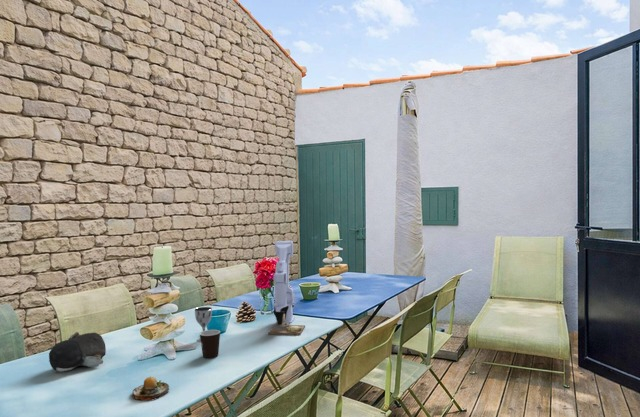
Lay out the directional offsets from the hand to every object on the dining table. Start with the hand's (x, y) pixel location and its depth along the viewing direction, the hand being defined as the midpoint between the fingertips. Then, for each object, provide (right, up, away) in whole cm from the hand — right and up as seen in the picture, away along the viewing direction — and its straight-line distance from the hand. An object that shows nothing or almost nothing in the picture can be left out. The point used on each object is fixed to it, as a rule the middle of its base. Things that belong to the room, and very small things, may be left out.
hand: (281, 322), depth 223 cm
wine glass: (-36, -5, -13) cm, 39 cm away
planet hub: (0, -3, 0) cm, 3 cm away
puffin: (-79, -7, -44) cm, 91 cm away
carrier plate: (+3, -4, -1) cm, 5 cm away
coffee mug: (-27, -5, -34) cm, 44 cm away
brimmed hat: (-39, -6, -72) cm, 82 cm away
